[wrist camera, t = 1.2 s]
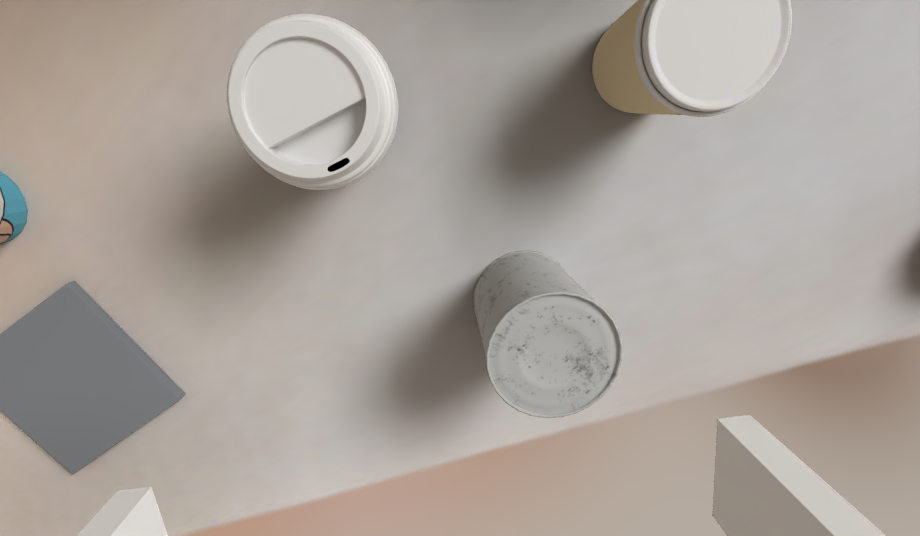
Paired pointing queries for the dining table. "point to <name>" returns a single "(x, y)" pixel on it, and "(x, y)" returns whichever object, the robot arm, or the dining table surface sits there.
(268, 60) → the coffee cup
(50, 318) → the coaster
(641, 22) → the coffee cup
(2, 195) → the white printed cylinder
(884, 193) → the dining table surface
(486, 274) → the grey concrete cylinder
